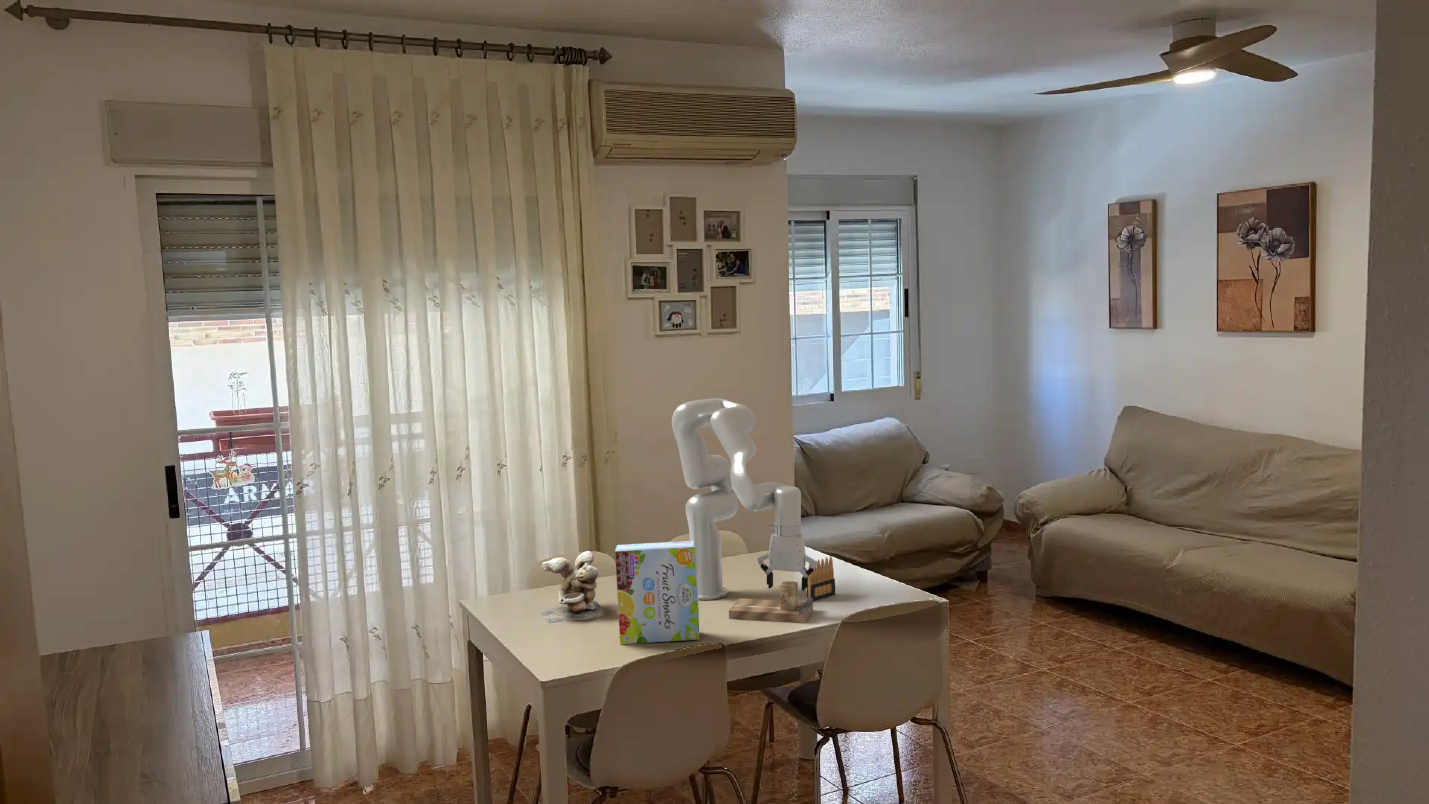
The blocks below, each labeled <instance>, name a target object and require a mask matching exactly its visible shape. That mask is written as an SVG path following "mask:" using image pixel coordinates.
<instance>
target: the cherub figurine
mask: <svg viewBox="0 0 1429 804" xmlns="http://www.w3.org/2000/svg"><path fill="white" fill-rule="evenodd" d="M594 561H595V556H594V554H593V553H592V552H591V551H588V550H586V551H584V552H582V553H581V554H579V555H578V556H577V557H576V559H575V562H574V566H573V565H572V563H571V562H570V561H569V560H568V559H566V557H565V558H564V557H563V556H561V557H554V558H552V559H551V560H547V561H543V562H542V563H541V568H542V569H543V568H544V571H546V572H551V573H553V574H560V576H561V577H562V578H563V581H562V583H561V585H560V587H559V590H558V603H559V604H561V605H560V606H555V607H551V608H547V609H544V610H542V611H539V613H540V615H542V616H543V618H544V619H545V621H546V622H547V623H548V624H553V623H561V622H563V623H564V622H572V621H573V622H574V621H582V620H592V619H601V618H602V616H605V615H606V614H605V612H606V611H605V610H604V608H603V607H602V606H601V604H600V603H599V602H597V600H595V598H596V589H597V587H598V586H597V578H598V576H599V570H598V568H597V567H595V566H594V565H592V563H593V562H594Z"/></svg>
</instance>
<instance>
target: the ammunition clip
mask: <svg viewBox="0 0 1429 804" xmlns="http://www.w3.org/2000/svg"><path fill="white" fill-rule="evenodd" d="M816 561H817V562H818V564H817V566H816V567H815V569H814V571H813V572H812V573H811V574H810V575H809V576H808V587H807V588H806V599H807V598H813V602H817V601H820V600H822V599H826V598H829V597H833V596H836V594H837V593H836V579H835V578H834V577H835V576H834V575H835V574H834V563H833V561H834V560H833V557H832V556H829V558H828V557H825V559H824V558H823V557H822V558H821V561H820V559H817V560H816ZM810 567H811V564H810V563H808V568H807V570H808V569H809V568H810ZM816 600H817V601H816Z"/></svg>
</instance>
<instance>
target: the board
mask: <svg viewBox="0 0 1429 804" xmlns="http://www.w3.org/2000/svg"><path fill="white" fill-rule="evenodd" d="M813 611H814V601H813V598H807V597H806V600H805V601H799V600H798V606H797V608H796V609H795V610H780V600H775V599H762V598H761V599H758V598H742V597H741V598H738V599H737V601H736V602H735V603H734V604H733V605H732V606H731V607H730V609H729V610H728V619H730V620H731V619H732V620H745V621H746V620H749V621H764V622H767V621H768V622H770V621H771V622H782V623H783V622H784V623H800V624H806V622H807V621H808V619H809V618H810V616H812V615H811V614H812V613H813Z"/></svg>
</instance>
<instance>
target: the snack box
mask: <svg viewBox="0 0 1429 804" xmlns="http://www.w3.org/2000/svg"><path fill="white" fill-rule="evenodd" d="M614 556H615V575H616V576H615V577H616V591H617V593H616V594H617V595H616V596H617V613H618V614H617V615H618V628H619V630H618V631H619V644H620V645H629V644H630V645H632V644H646V643H647V644H648V643H649V644H650V643H661V642H678V641H682V642H683V641H695V640H696V641H697V640H700V613H699V611H700V610H699V609H700V608H699V600H698V585H697V569H696V554H695V543H694V541H690V540H685V541H684V540H683V541H666V542H664V541H663V542H646V543H644V542H643V543H629V544H617V545H616V547H615V551H614Z"/></svg>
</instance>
